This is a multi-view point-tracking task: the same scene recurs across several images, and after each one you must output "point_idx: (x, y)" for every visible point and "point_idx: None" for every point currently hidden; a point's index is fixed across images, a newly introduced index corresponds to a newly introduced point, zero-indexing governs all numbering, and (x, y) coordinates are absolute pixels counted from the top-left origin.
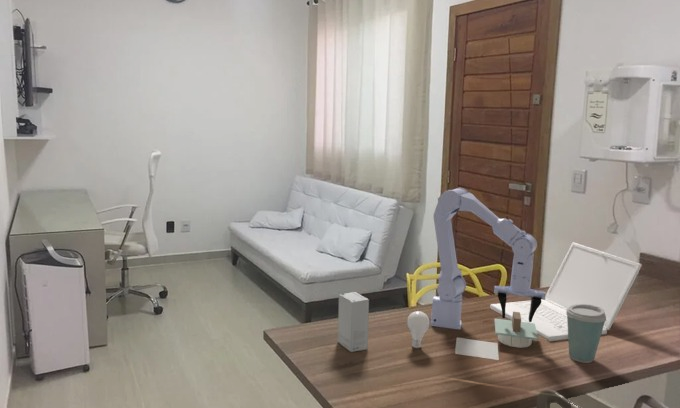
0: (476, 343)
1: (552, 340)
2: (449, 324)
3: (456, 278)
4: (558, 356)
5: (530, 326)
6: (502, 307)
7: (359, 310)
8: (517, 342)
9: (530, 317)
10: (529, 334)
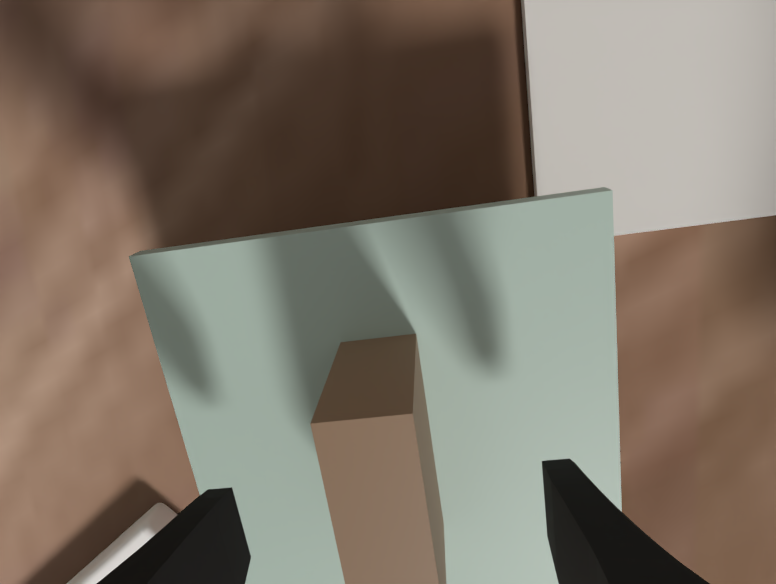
0: (748, 136)
1: (136, 522)
2: None
3: None
4: (36, 246)
5: (260, 535)
6: (655, 557)
7: None
8: None
9: (194, 519)
10: (235, 322)
